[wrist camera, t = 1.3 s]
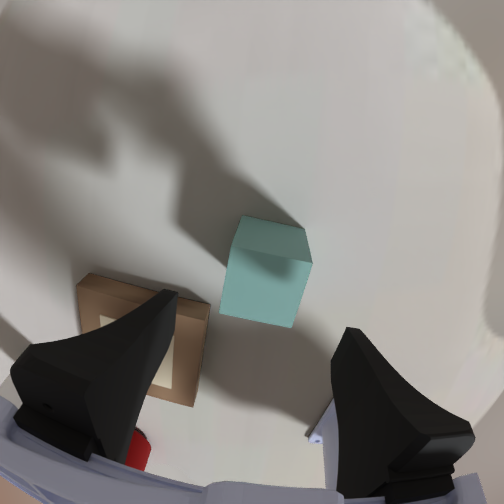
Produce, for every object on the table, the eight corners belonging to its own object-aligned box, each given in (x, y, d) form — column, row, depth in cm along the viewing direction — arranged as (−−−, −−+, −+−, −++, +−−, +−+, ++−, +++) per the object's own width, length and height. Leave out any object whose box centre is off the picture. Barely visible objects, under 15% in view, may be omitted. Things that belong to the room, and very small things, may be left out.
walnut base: (210, 304, 22) (204, 321, 20) (197, 391, 26) (192, 408, 24) (89, 272, 22) (75, 285, 20) (98, 361, 26) (89, 376, 24)
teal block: (304, 229, 20) (312, 263, 15) (289, 283, 21) (291, 328, 17) (242, 214, 20) (231, 245, 15) (231, 270, 21) (218, 313, 17)
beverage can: (97, 412, 30) (59, 489, 19) (149, 427, 30) (118, 514, 19) (110, 440, 33) (80, 509, 22) (156, 453, 33) (132, 529, 22)
